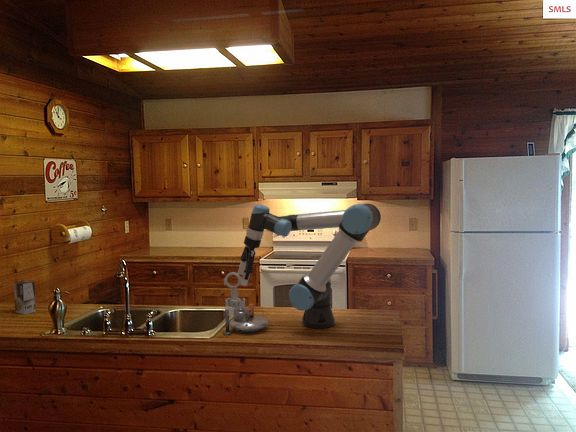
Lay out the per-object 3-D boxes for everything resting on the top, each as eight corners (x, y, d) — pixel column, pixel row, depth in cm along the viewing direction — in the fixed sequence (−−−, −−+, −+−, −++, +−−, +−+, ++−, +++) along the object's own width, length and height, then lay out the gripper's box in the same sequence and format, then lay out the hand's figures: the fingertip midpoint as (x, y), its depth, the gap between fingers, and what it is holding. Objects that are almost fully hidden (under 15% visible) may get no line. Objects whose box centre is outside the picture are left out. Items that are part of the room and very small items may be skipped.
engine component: (243, 314, 239) (246, 309, 249) (242, 274, 238) (246, 270, 248) (222, 314, 240) (226, 309, 250) (221, 274, 239) (225, 270, 249)
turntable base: (267, 328, 215) (267, 323, 215) (251, 335, 205) (251, 330, 205) (247, 324, 222) (247, 320, 222) (230, 330, 212) (230, 326, 212)
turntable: (275, 322, 215) (275, 306, 215) (251, 332, 201) (251, 314, 201) (246, 317, 225) (246, 301, 225) (222, 326, 211) (221, 309, 211)
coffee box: (36, 311, 250) (35, 281, 249) (24, 314, 244) (22, 283, 243) (27, 309, 255) (25, 280, 254) (14, 312, 249) (13, 282, 248)
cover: (252, 318, 217) (251, 307, 216) (242, 322, 211) (242, 311, 210) (240, 316, 220) (240, 305, 220) (230, 320, 215) (230, 308, 214)
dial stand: (225, 335, 205) (225, 309, 204) (221, 333, 208) (220, 307, 207) (234, 333, 207) (234, 307, 206) (230, 331, 210) (229, 306, 210)
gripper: (242, 228, 229) (231, 268, 233) (249, 244, 205) (237, 289, 210) (257, 231, 231) (246, 271, 235) (265, 247, 207) (253, 291, 212)
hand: (241, 279), depth 222 cm, fingers open, 13 cm apart
